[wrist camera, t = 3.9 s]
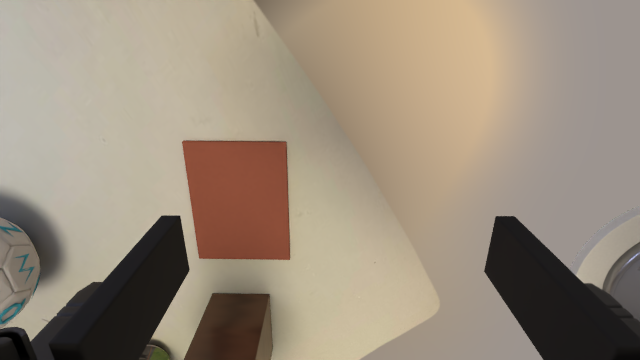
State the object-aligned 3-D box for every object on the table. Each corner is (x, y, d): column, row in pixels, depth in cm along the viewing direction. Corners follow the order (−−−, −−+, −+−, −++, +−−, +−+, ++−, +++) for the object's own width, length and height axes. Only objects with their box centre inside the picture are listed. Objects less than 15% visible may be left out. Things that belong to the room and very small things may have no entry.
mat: (286, 141, 41) (286, 142, 41) (289, 258, 47) (289, 259, 47) (183, 140, 41) (181, 141, 41) (200, 256, 47) (199, 258, 47)
